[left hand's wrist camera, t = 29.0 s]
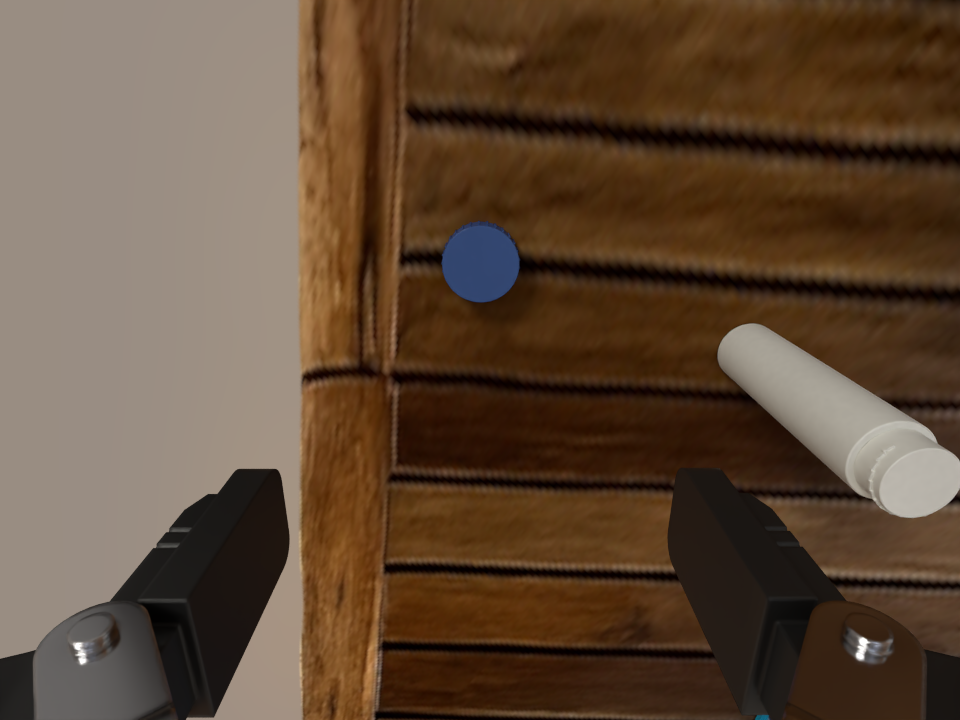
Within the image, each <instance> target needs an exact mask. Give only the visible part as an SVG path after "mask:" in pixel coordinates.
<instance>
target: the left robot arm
mask: <svg viewBox="0 0 960 720" xmlns="http://www.w3.org/2000/svg"><path fill="white" fill-rule="evenodd" d="M668 549H669V555H670V559H671V562H672V565H673V567H674V569H675V572H676V574H677V576H678V578H679V580H680V582H681V585H682V587H683V589H684V591H685V593H686V595H687V598H688V600H689V602H690V604H691V606H692V608H693V611H694V613H695V615H696V617H697V619H698V621H699V624H700V626H701V628H702V630H703V632H704V634H705V637H706V639H707V641H708V643H709V645H710V647H711V649H712V652H713V654H714V656H715V658H716V660H717V662H718V665H719V667H720V669H721V671H722V673H723V675H724V678H725V680H726V682H727V684H728V686H729V688H730V691H731V693H732V695H733V697H734V699H735V701H736V704H737V706H738V708H739V710H740V712H741V714H742V715H769V717H770V719H771V720H960V658H958V657H954V656H950V655H945V654H941V653H937V652H933V651H929V650H925V649H923V647H922V646H921V644H920V643H919V641H918V640H917V639H916V638H915V637H914V635H913V634H912V633H910V632H909V631H908V630H907V629H906V628H905V627H904V626H902V625H901V624H900V623H898V622H897V621H895V620H894V619H892V618H891V617H889V616H887V615H885V614H884V613H882V612H880V611H877V610H875V609H873V608H871V607H868V606H865V605H862V604H858V603H854V602H848V601H846V600H845V598H844V597H843V596H842V595H841V594H840V592H839V591H838V590H837V589H836V587H835V586H834V585H833V584H832V582H831V581H830V580H829V579H828V577H827V576H826V575H825V574H824V573H823V571H822V570H821V569H820V568H819V566H818V565H817V564H816V563H815V561H814V560H813V559H812V558H811V557H810V555H809V554H808V553H807V552H806V550H805V549H804V548H803V547H800V545H799V542H798V540H797V539H796V538H795V537H794V536H793V534H792V533H791V532H790V531H787V527H786V526H785V524H784V523H783V522H782V521H781V520H780V518H779V517H778V516H777V515H776V513H775V512H774V511H773V510H772V509H771V508H770V507H768V506H767V505H765V504H764V503H762V502H761V501H760V500H758V499H757V498H755V497H754V496H752V495H751V494H749V493H739V492H738V491H737V490H736V488H735V487H734V486H733V484H732V483H731V482H730V480H729V479H728V478H727V476H726V475H725V474H724V472H723V471H722V470H721V469H719V468H680V469H679V470H678V472H677V474H676V479H675V485H674V492H673V499H672V507H671V514H670V521H669V528H668ZM288 551H289V528H288V521H287V514H286V507H285V500H284V493H283V486H282V480H281V475H280V473H279V471H278V470H277V469H237V470H236V471H235V472H234V473H233V474H232V476H231V477H230V478H229V480H228V481H227V482H226V484H225V485H224V486H223V487H222V489H221V490H220V491H219V493H218V494H208V495H206V496H205V497H203V498H202V499H200V500H199V501H197V502H196V503H194V504H193V505H191V506H190V507H188V508H187V509H185V510H184V511H183V513H182V514H181V515H180V516H179V518H178V519H177V520H176V521H175V522H174V524H173V525H172V526H171V527H170V529H169V532H166V533H165V535H164V536H163V537H162V538H161V539H160V541H159V542H158V543H157V547H156V548H153V549H152V550H151V552H150V553H149V554H148V555H147V557H146V558H145V559H144V560H143V561H142V563H141V564H140V565H139V566H138V568H137V569H136V570H135V571H134V572H133V574H132V575H131V576H130V577H129V579H128V580H127V581H126V582H125V583H124V585H123V586H122V587H121V588H120V590H119V591H118V592H117V593H116V594H115V596H114V597H113V598H112V599H111V601H110V602H106V603H102V604H98V605H95V606H92V607H89V608H87V609H85V610H83V611H80V612H78V613H76V614H75V615H73V616H71V617H69V618H68V619H66V620H65V621H63V622H62V623H60V624H59V625H58V626H56V627H55V628H54V629H53V630H52V631H51V632H50V633H49V634H47V635H46V637H45V638H44V639H43V640H42V641H41V643H40V644H39V646H38V647H37V649H36V650H34V651H31V652H27V653H23V654H19V655H14V656H10V657H6V658H2V659H0V720H186V718H187V717H214V716H215V714H216V712H217V710H218V707H219V705H220V703H221V701H222V699H223V697H224V695H225V693H226V690H227V688H228V686H229V684H230V682H231V680H232V678H233V675H234V673H235V671H236V669H237V667H238V665H239V663H240V660H241V658H242V656H243V654H244V652H245V650H246V648H247V646H248V643H249V641H250V639H251V637H252V635H253V633H254V631H255V628H256V626H257V624H258V622H259V620H260V618H261V616H262V614H263V611H264V609H265V607H266V605H267V603H268V601H269V599H270V596H271V594H272V592H273V590H274V588H275V586H276V584H277V581H278V579H279V577H280V575H281V573H282V571H283V569H284V566H285V564H286V560H287V557H288Z"/></svg>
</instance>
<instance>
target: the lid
mask: <svg viewBox="0 0 960 720" xmlns="http://www.w3.org/2000/svg"><path fill="white" fill-rule="evenodd" d="M445 248H446V249H445V250H444V251H443V254H442V256H443V260H442V263H441V264H442V267H443V271H442V272H443V273H444V277H445V280H446V281H447V283H448V285H449V286H450V288H451V289H452V290H453V291H454V292H455V293H456V294H457V295H459V296H460V297H462V298H464V299H466V300H469V301H473V302H489V301H493V300H495V299H498V298H500V297H501V296H503V295H504V294H505V293H507V292H508V291H509V290H510V288H511V287H512V286H513V284H514V282H515V281H516V278H517V277H518V272H519V269H520V266H519V261H520V258H519V255H518V253H517V252H519V251H518V249H517V247H515V242H514V239H513V240H512V239H511V237H510V234H509V233H507V232H506V231H504V229H503V228H500V227H499V226H497V225H496V224H492V223H488V221H486V222H480V221H478V222H474V223H472V222H470V224H467V225H465V226H464V225H462V227H461V228H460V229H458V230H457V229H456V230H455V233H454V234H453V235H452V236H450V238H449V241H448V243H447V242H446V245H445Z"/></svg>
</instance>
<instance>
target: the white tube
mask: <svg viewBox="0 0 960 720" xmlns="http://www.w3.org/2000/svg"><path fill="white" fill-rule="evenodd" d="M718 362H719V365H720V367H721V369H722V370H723V371H724V372H725V373H726V374H727V375H728V376H729V377H730V378H731V379H732V380H734V381H735V382H736V383H737V384H738V385H739V386H740V387H741V388H742V389H743V390H744V391H746V392H747V393H748V394H749V395H750V396H751V397H752V398H753V399H754V400H755V401H757V402H758V403H759V404H760V405H761V406H762V407H763V408H764V409H765V410H766V411H767V412H769V413H770V414H771V415H772V416H773V417H774V418H775V419H776V420H777V421H778V422H779V423H781V424H782V425H783V426H784V427H785V428H786V429H787V430H788V431H789V432H790V433H792V434H793V435H794V436H795V437H796V438H797V439H798V440H799V441H800V442H801V443H802V444H804V445H805V446H806V447H807V448H808V449H809V450H810V451H811V452H812V453H813V454H815V455H816V456H817V457H818V458H819V459H820V460H821V461H822V462H823V463H824V464H825V465H827V466H828V467H829V468H830V469H831V470H832V471H833V472H834V473H835V474H836V475H837V476H839V477H840V478H841V479H842V480H843V481H844V482H845V483H846V484H847V485H848V486H850V487H851V488H852V489H853V490H854V491H855V492H857V493H858V494H860V495H862V496H864V497H867V498H871V499H873V500H874V501H875V503H876V504H877V505H878V506H879V507H880V508H881V509H883V510H885V511H887V512H888V513H889V514H893V515H897V516H899V517H907V518H915V517H921V516H924V517H925V516H927V515H929V514H931V513H933V512H936V511H937V510H939V509H941V508H942V507H944V506H945V505H946V504H948V503H949V502H950V501H951V500H952V499H953V498H954V496H955V495H956V494H957V492H958V490H959V489H960V461H959V459H958V458H957V457H956V456H955V455H954V454H953V453H951V452H950V451H948V450H946V449H945V448H943V447H942V446H940V445H939V444H937V441H936V438H935V437H934V435H933V433H932V432H931V431H930V430H929V429H928V428H926V427H925V426H924V425H922V424H920V423H919V422H917V421H916V420H914V419H912V418H911V417H909V416H908V415H906V414H904V413H903V412H901V411H900V410H898V409H896V408H895V407H893V406H892V405H890V404H888V403H887V402H885V401H883V400H882V399H880V398H879V397H877V396H875V395H874V394H872V393H871V392H869V391H867V390H866V389H864V388H863V387H861V386H859V385H858V384H856V383H855V382H853V381H851V380H850V379H848V378H847V377H845V376H843V375H842V374H840V373H839V372H837V371H835V370H834V369H832V368H831V367H829V366H827V365H826V364H824V363H823V362H821V361H819V360H818V359H816V358H815V357H813V356H811V355H810V354H808V353H807V352H805V351H803V350H802V349H800V348H799V347H797V346H795V345H794V344H792V343H790V342H789V341H787V340H786V339H784V338H782V337H781V336H779V335H778V334H776V333H774V332H773V331H771V330H770V329H768V328H766V327H765V326H762V325H759V324H745V325H741V326H739V327H736V328H735V329H733V330H731V331H730V332H729V333H728V334H727V335H726V336H725V337H724V338H723V340H722V341H721V343H720V346H719V349H718Z"/></svg>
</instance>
